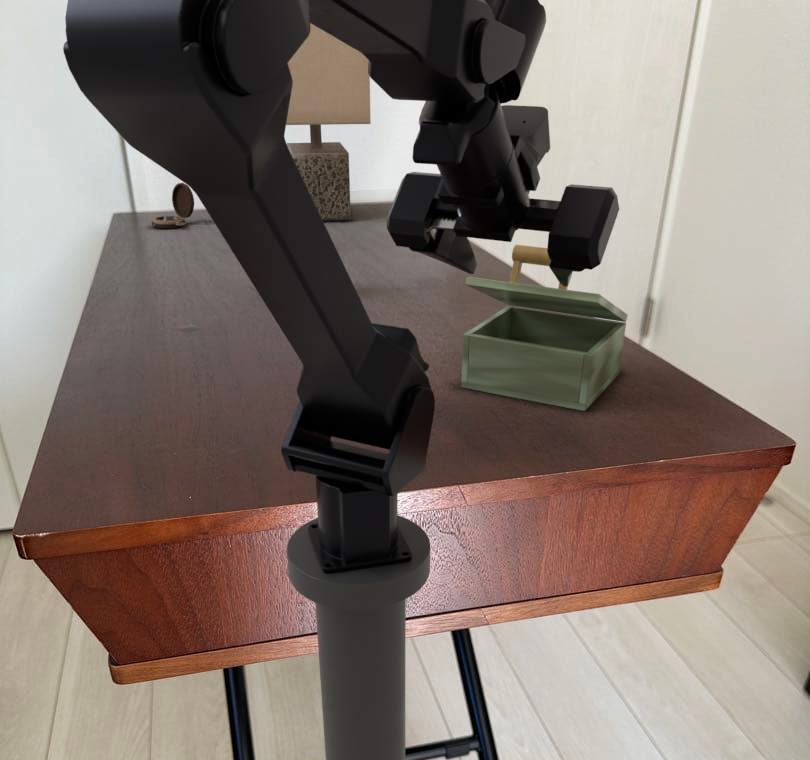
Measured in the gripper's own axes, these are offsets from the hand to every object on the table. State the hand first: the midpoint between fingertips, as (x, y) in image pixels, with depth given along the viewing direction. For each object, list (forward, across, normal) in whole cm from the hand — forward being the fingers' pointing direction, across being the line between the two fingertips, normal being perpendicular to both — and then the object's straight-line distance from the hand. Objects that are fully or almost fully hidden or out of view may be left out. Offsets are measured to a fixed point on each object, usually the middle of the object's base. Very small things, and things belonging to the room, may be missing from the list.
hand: (519, 275), depth 77 cm
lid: (+9, 0, -3) cm, 9 cm away
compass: (+46, +90, -28) cm, 105 cm away
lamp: (+63, +73, -46) cm, 107 cm away
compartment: (+15, 0, +3) cm, 15 cm away
